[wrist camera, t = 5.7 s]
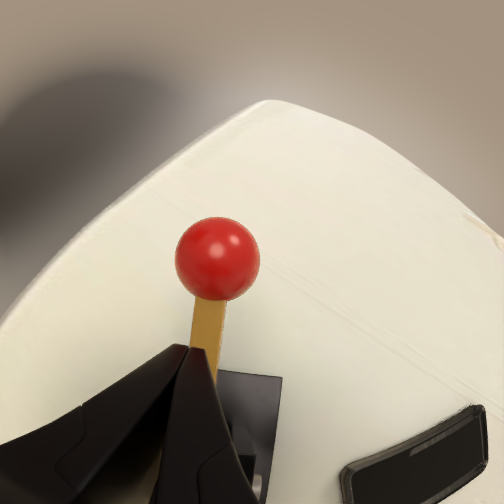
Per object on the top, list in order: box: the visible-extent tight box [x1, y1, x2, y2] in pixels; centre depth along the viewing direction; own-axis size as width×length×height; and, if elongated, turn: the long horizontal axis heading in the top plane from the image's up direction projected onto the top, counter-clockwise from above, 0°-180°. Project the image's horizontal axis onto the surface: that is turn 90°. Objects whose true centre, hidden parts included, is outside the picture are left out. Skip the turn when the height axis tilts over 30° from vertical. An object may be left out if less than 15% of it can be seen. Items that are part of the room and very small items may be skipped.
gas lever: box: [175, 217, 260, 387], centre depth 11 cm, size 13×3×3 cm, turn 173°
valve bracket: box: [148, 369, 283, 504], centre depth 13 cm, size 12×9×10 cm
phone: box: [340, 405, 488, 504], centre depth 15 cm, size 8×1×15 cm
